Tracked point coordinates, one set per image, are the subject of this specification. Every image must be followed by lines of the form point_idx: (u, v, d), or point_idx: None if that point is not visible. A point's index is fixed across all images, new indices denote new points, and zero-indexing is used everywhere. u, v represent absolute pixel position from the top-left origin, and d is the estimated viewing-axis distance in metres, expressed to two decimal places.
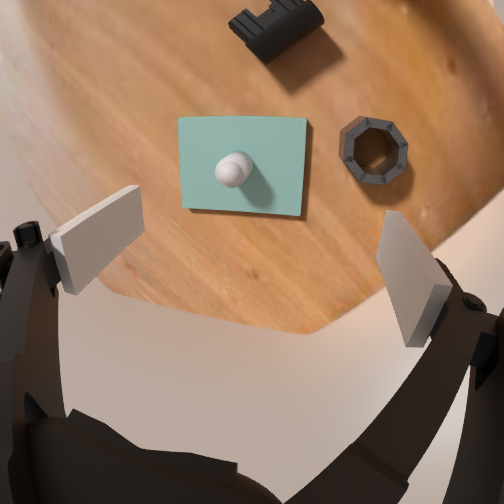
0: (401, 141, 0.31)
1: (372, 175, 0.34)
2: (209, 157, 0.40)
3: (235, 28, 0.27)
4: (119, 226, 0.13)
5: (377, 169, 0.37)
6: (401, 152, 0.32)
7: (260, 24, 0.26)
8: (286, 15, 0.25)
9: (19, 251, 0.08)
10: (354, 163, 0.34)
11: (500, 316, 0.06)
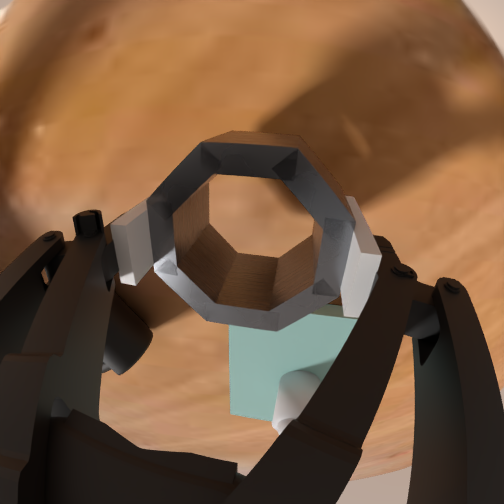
0: (197, 168, 0.11)
1: (320, 262, 0.12)
2: None
3: (107, 370, 0.25)
4: None
5: None
6: (235, 166, 0.10)
7: None
8: None
9: (77, 239, 0.09)
10: (283, 308, 0.13)
11: (435, 288, 0.08)
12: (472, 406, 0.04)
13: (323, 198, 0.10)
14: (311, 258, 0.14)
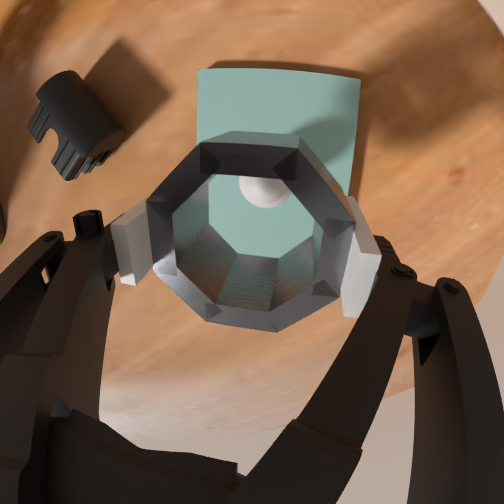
0: (196, 168, 0.10)
1: (321, 263, 0.11)
2: (258, 212, 0.27)
3: (71, 171, 0.23)
4: None
5: None
6: (234, 166, 0.10)
7: (64, 142, 0.22)
8: (51, 114, 0.20)
9: (77, 239, 0.09)
10: (283, 309, 0.13)
11: (435, 288, 0.08)
12: (472, 406, 0.04)
13: (323, 198, 0.10)
14: (311, 258, 0.14)
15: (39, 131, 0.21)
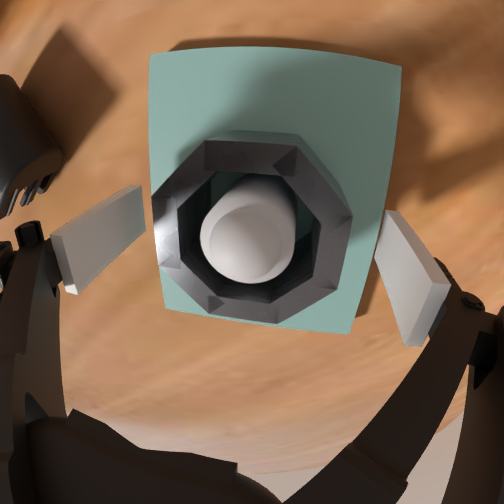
0: (200, 164, 0.11)
1: (319, 256, 0.12)
2: None
3: None
4: (120, 226, 0.13)
5: None
6: (237, 163, 0.11)
7: None
8: None
9: (20, 251, 0.08)
10: (283, 301, 0.13)
11: (498, 315, 0.06)
12: None
13: (321, 193, 0.11)
14: (310, 253, 0.15)
15: None
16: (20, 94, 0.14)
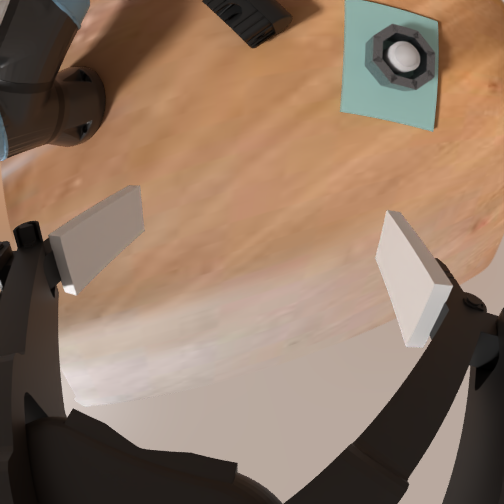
0: (391, 29, 0.24)
1: (427, 63, 0.25)
2: (386, 87, 0.32)
3: (251, 34, 0.28)
4: (119, 226, 0.13)
5: None
6: (402, 31, 0.24)
7: (249, 13, 0.26)
8: None
9: (19, 251, 0.08)
10: (418, 79, 0.26)
11: (500, 316, 0.06)
12: None
13: (426, 44, 0.24)
14: (419, 72, 0.27)
15: (220, 4, 0.26)
16: None
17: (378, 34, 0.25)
